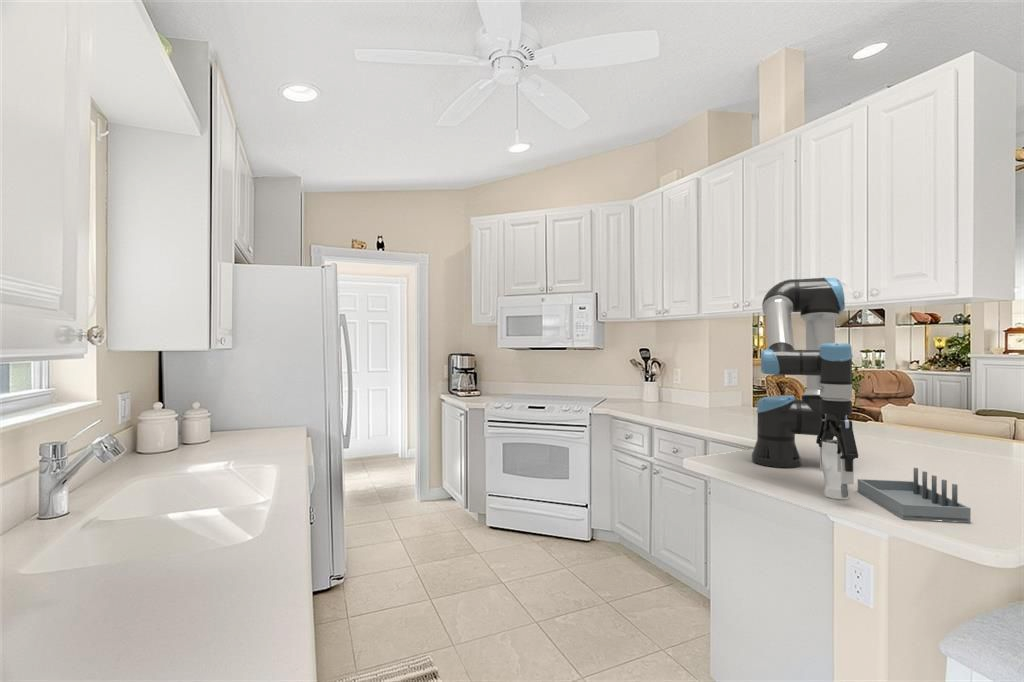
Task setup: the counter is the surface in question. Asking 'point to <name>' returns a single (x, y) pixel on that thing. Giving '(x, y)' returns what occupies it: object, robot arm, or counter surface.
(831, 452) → the beer glass
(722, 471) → the counter surface
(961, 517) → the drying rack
